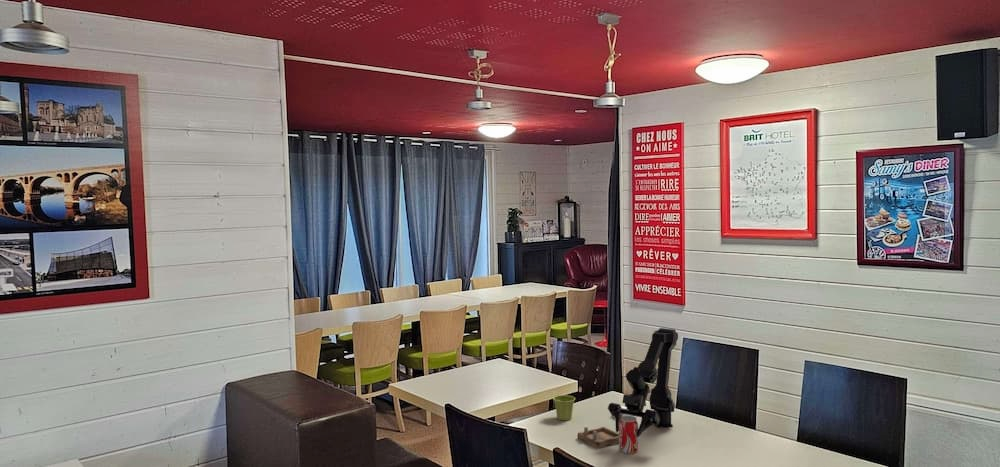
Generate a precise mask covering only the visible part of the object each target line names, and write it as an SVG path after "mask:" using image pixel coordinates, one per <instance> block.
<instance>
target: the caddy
mask: <svg viewBox="0 0 1000 467" xmlns="http://www.w3.org/2000/svg"><path fill="white" fill-rule="evenodd" d="M583 428H584V429H583V430H584V431H579V432H577V439H578V440H580V441H582V442H584V443H586V444H588V445H590V446H592V447H594V448H596V449H601V448H604V447H610V446H613V445H615V444H616V445H617V444H619V432H616V431H614V430H612V429H610V428H608V427H605V426H601V427H597V428H593V429H589V427H588V426H585V427H583Z"/></svg>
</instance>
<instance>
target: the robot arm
mask: <svg viewBox="0 0 1000 467" xmlns="http://www.w3.org/2000/svg"><path fill="white" fill-rule="evenodd" d="M678 339H679V334H678V332H677V331H676V330H675V329H671V328H664V327H663V328H662V327H660V328H658V330H654V332H653V333H652V335H651V342H650V344H649V347H648V349H647V352H646V355H645V358H644V360H643V361H641V362H640V363H639V365H638V366H637V367H636V366H634V367H633V369H630V370H629V371H627V373H626V374H625V378H626V381H627V382H628V385H629V386H630V388H631V389H632V392H631V393H630V394H625V393H624V394H623V396H622V404H624V406H625V407H627V409H624V408H621V406H622V405H621V404H619V403H616V402H615V403H614V402H611V403H609V404H608V405H607V410H608V412H609V413H610V415H611V416H612V417H613V416H614V417H615V418H614V417H613V418H614V419H615V432H616V433H619V422H620V420H621V417H622V415H623V414H627V415H632V416H637V418H638V417H639V418H641V421H640V424H639V425H638V432H637V437H638V438H639V437H640V436H641V435H642V434H643V433H644V432H645V431H646V430H648V428H650V427H651V426H652V427H653V426H654V425H655V426H656V427H657V428H666V427H668V428H669V427H673V426H674V425H673V424H672V413H674V412H675V409H676V408H675V406H676V404H675V402H674V400H673V399H672V392H671V389H670V388H669V379H670V369H671V358H672V352H673V350H674V349H675V347H676V346H677V342H678ZM654 383H656V384H655V386H654V387H653V388H651V389H650V385H649V384H654ZM649 394H650V395H649ZM648 396H649V399H648ZM647 399H648V400H649V401H648V402H649V407H650V409H645V411H644V408H645V407H647V406H646V405H647V403H646V401H647Z"/></svg>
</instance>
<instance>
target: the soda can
mask: <svg viewBox="0 0 1000 467" xmlns="http://www.w3.org/2000/svg"><path fill="white" fill-rule="evenodd" d="M638 429H639V423H638V421H637V418H635V417H631V416H623V417H621V420H620V422H619V431H618V433H619V443H618V449H619V450H620V451H621V453H622V452H623V453H624V454H635V453H636V452H637V451H638V450H639V437H637V432H638Z"/></svg>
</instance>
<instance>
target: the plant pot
mask: <svg viewBox="0 0 1000 467" xmlns="http://www.w3.org/2000/svg"><path fill="white" fill-rule="evenodd" d="M552 400H553V401H554V402H553V403H554V406H555V411H556V418H557V420H559V421H561V420H563V421H570V420H571V419H573V418H572V417H573V409H574V408H573V407H574V403H575V400H576V397H574V396H573V395H566V394H564V395H563V394H561V395H560V394H559V395H556V396H554V397H553V398H552Z"/></svg>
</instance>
